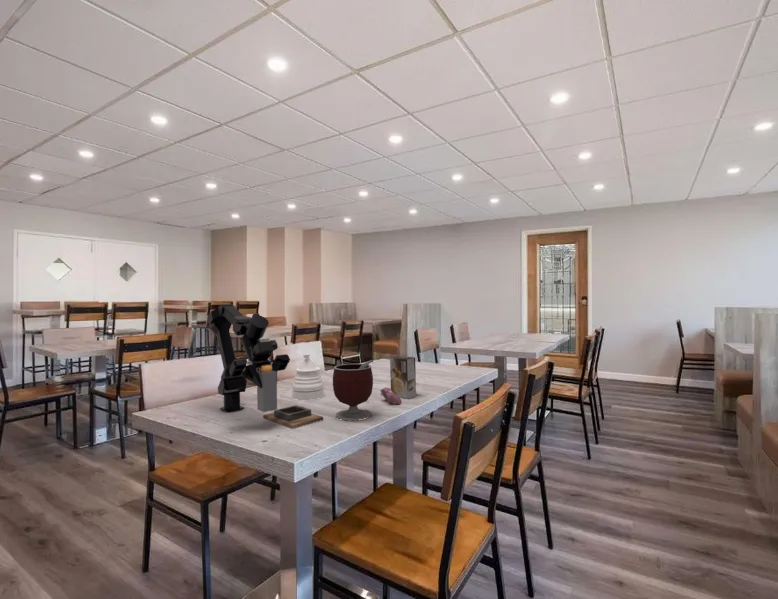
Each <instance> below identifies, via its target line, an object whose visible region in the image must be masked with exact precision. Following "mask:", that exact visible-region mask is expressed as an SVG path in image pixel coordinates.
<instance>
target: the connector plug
mask: <svg viewBox="0 0 778 599" xmlns="http://www.w3.org/2000/svg"><path fill="white" fill-rule="evenodd" d="M260 369H261V370H260V371H257V373H258V375H259V378H260V380H261V383H262V388H259V387H258V386H257V385H256V386H257V387H256V390H257V391H256V392H257V393H256V394H257V403H256V404H257V410H258V411H260V412H263V413H266V412H271V411H274V410H278V371H277V372H276V371H272V365H262V366H261V368H260Z"/></svg>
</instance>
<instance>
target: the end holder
mask: <svg viewBox="0 0 778 599" xmlns="http://www.w3.org/2000/svg"><path fill="white" fill-rule="evenodd" d="M262 418H263V419H265V418H266V420H268V421H271V422H273V423H277V424H278V425H282V426H285V427H288V428H290V429H296V427H297V428H299V426H300V427H304V426H306V424H307V425H310V423H311V424H313V422H314V423H317V422H316V421H318V422H320V420H321V421H324V417H323V416H322V415H319V414H315V413H312V409H311V408H307V407H303V406H301V405H298V404H296V405H291V406H287V407H282V408H279V409H278V408H277V410H273V412H270V413H265V414H262ZM303 425H304V426H303Z"/></svg>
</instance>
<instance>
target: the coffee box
mask: <svg viewBox="0 0 778 599" xmlns="http://www.w3.org/2000/svg"><path fill="white" fill-rule="evenodd" d="M389 368H390V369H389V370H390V371H389V372H390V389H391V391H392V392H393V393H394V394H395V395H396V396H397V397H399V398H400V399H401V398H402V399H407V400H408V399H411V398H415V397H417V379H416V377H417V376H416V374H417V373H416V357H414V356H403V355H402V356H401V355H395V356H392V357H389Z"/></svg>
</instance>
